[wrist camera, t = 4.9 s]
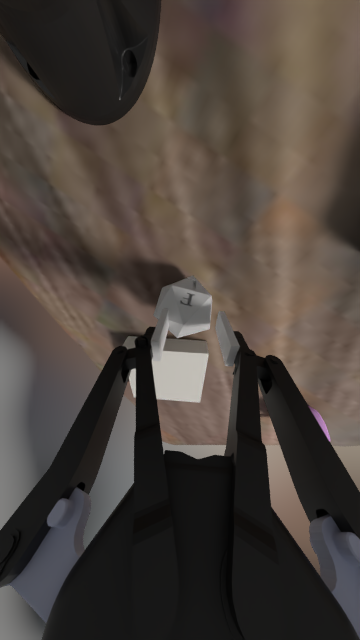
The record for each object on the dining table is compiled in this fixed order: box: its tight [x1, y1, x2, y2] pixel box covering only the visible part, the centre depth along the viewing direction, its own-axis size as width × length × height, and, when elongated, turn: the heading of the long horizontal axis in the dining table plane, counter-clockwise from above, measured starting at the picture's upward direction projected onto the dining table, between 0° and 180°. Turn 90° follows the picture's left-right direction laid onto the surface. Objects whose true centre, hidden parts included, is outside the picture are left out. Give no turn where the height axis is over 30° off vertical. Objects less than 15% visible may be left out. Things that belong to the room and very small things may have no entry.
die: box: [154, 276, 212, 338], centre depth 21 cm, size 8×9×10 cm
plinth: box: [122, 336, 209, 402], centre depth 34 cm, size 18×18×4 cm
